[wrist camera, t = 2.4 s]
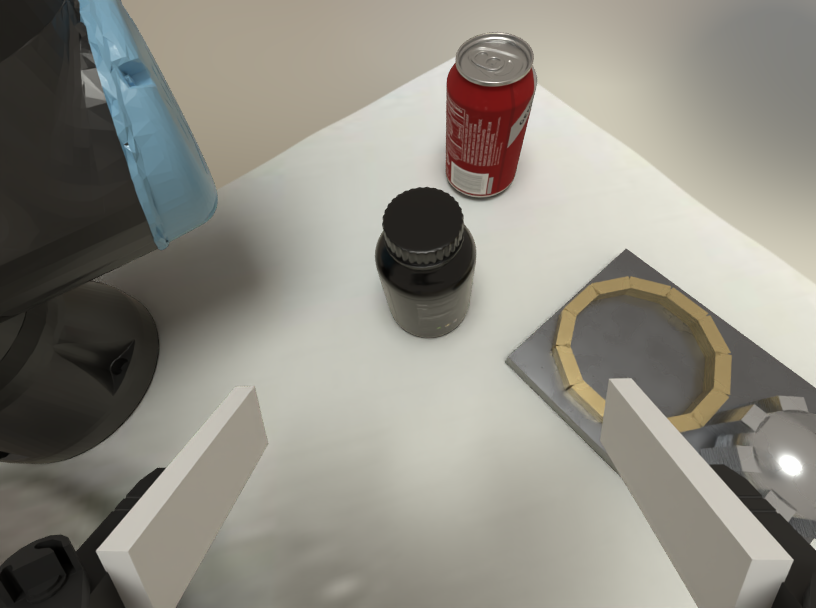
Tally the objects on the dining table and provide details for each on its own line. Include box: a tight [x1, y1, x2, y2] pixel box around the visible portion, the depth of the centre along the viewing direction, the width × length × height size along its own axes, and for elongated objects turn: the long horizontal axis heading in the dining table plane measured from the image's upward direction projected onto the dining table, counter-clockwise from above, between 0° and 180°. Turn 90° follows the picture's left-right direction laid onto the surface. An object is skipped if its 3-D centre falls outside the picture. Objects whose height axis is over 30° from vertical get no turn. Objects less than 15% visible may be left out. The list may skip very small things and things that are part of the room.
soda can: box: [446, 32, 537, 197], centre depth 33 cm, size 7×7×12 cm
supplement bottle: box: [375, 187, 476, 338], centre depth 28 cm, size 7×7×12 cm
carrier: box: [505, 249, 816, 544], centre depth 26 cm, size 20×14×5 cm
